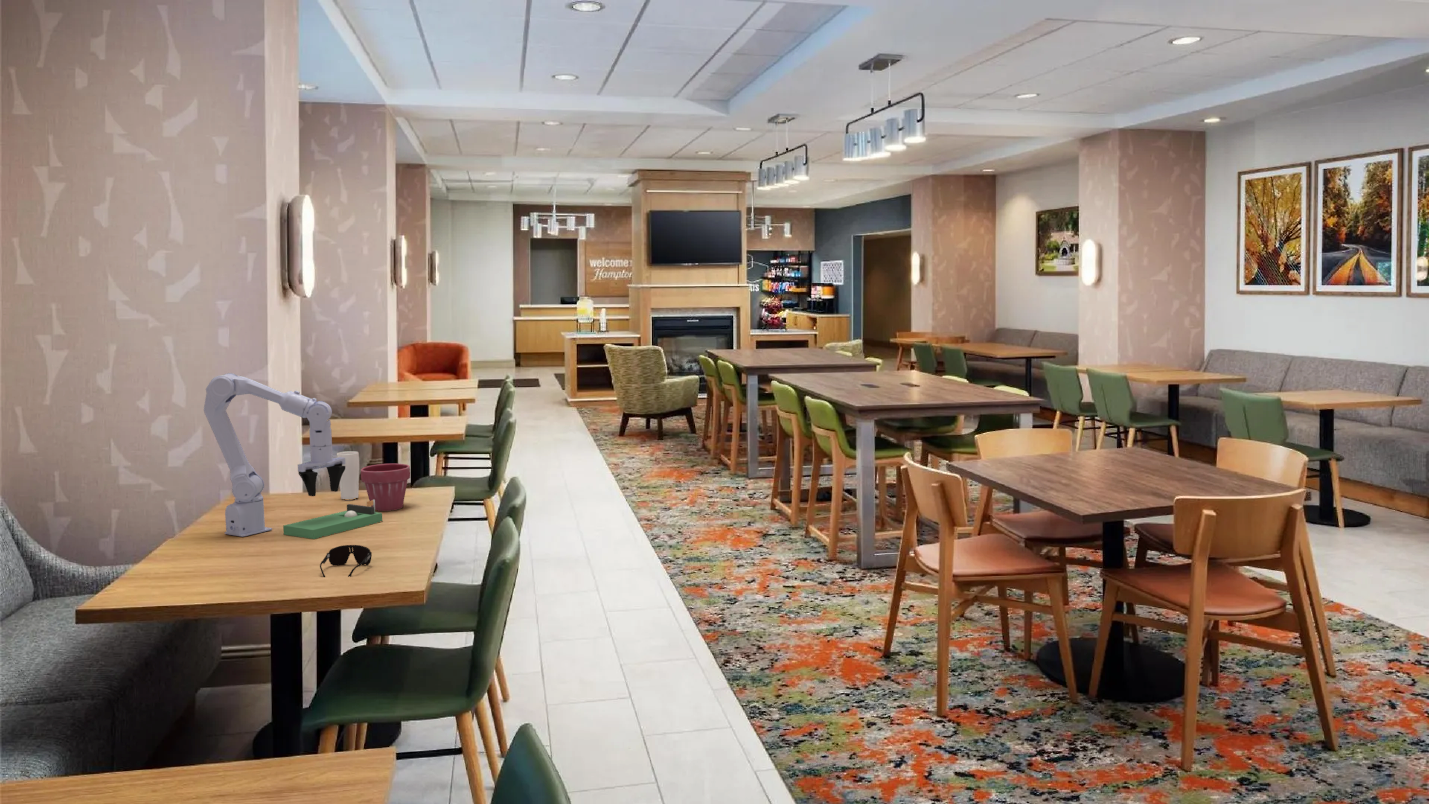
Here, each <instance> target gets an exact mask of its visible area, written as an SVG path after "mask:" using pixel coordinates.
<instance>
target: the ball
mask: <svg viewBox="0 0 1429 804" xmlns="http://www.w3.org/2000/svg"><path fill="white" fill-rule="evenodd" d="M354 516H357V513H356V512H355V511H348V512H346V513H345V516H344V517H354Z"/></svg>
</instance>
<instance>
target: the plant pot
mask: <svg viewBox="0 0 1429 804" xmlns="http://www.w3.org/2000/svg"><path fill="white" fill-rule="evenodd" d="M410 478H411V468H410V464H406V463H381V464H380V463H379V464H372V465H367V466H364V467H362V468H360V481H361V482H362V483H364V486H365V490H366V493H367V497H368V501H372V500H375V510H378V511H377V512H391V510H392V511H397V510H401V509H402V508H403V507H404V502H405V497H406V496H405V495H406V492H407V491H406V490H407V485H408V484H407V483H408V481H409V479H410ZM370 507H373V505H372V506H370Z"/></svg>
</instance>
